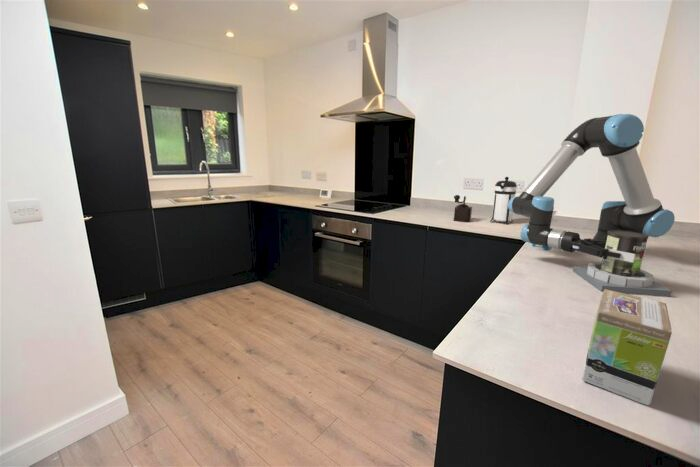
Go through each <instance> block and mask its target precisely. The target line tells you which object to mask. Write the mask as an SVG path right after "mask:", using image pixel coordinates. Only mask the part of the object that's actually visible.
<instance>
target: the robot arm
mask: <svg viewBox="0 0 700 467" xmlns="http://www.w3.org/2000/svg"><path fill="white" fill-rule="evenodd" d="M644 130H645V128H644V124H643V122H642V119H640V118H639V117H638V116H637V115H634V114H631V113H619V114H614V115H608V116H601V117H592V118H590V119H588V120H586V121H584V122H582V123H581V124H579V125H578V126H577V127H576V128H575V129H573V131H571V132H570V133H569V134H568V135H567V136H566V137H565V138H564V140H563V141H562V142H561V144H560V145H561V147H560V148H559V149H558V150H557V151H556V153H555V154H554V155H553V156H552V157H551V159H550V160H549V161H548V162H547V163H546V164H545V165H544V167H542V169H541V170H540V172H538V174H537V175H536V176H535V177H534V178H533V180H532V181H531V182H530V183H529V184H528V185H527V186H526V187H525V189H523V191H522V192H521V193H520V194H519V195H518V196H515V197H513V198H511V199H510V201H509V203H508V208H509V210H510V211H511V212H513V214H516V215H519V216H523V217H527V218H529V221H528V224H524V225H523V226H522V227H521V231H520V238H521V240H522V242H526V243H528V244H531V245H532V244H536V245H535V246H539V245H540V247H542V246H546V247H550V248H552V250H554V251H555V250H559V251H560V250H562V251H564V252H569V253H575V252H576V251H577V252H580V253H584V254H587V255H591V256H595V257H598V258H602V259H607V256H608V257H609V258H614V259H618V260H623V261H628V262H632V263H633V262H634V259H635V254H633V253H628V252H622V251H617V250H612V249H610V250H608V249H605V245H606V240H607V235H608V231H610V230H620V231H630V232H636V233H641V234H645V235H647V236H648V237H651V238H659V237H661V236H665V234H667V233H668V232H669V231H670V230H671V229H672V228H673V226H674V223H675V220H676V219H675V214H674V212H673V211H671V210H669V209H665V208H663V205H662V202H661V200H660V199H658V198H654V195H653V193H652V189H651V186H650V183H649V181H648V178H647V174H646V173H645V170H644V168H643V165H642V161H641V159H640V155H639V153H638V149H637V148H638V147H639V145H640V143H641V142H640V141H641V139H642V138H643V135H644V134H643V133H644ZM593 148H598V149H599V151H600V154H601V156H602V157H603V158H608V159H607V160H608V161H609V163H610V166H611V169H612V171H613V174H614V176H615V179H616V182H617V184H618V187H619V190H620V192H621V194H622V197H623V199H624V200H619V201H618V200H612V201H611V200H610V201H609V200H608V201H604V202H603V204H602V207H601V210H600V214H599V221H598V227H597V231H596V233H595V235H594V236H593V238H589V237H588V238H584V239H582V238H581V237H580V233H579V232H573V231H567V230H564V229H557V228H551V225H552V224H551V223H552V219H553V213H554V210H555V207H554V205H555V199H554V198H553V197H551V196H545V194H547V192H548V191H549V190H550V189H551V188H552V187H553V186H554V184H555V183H556V182H558V180H559V179H560V178H561V177H562V175H563V174H564V173H565V172H567V171H566V170H568V169H569V167H570V166H571V165H572V164H573V163H574V161H576V160H577V159H578V157H580V156H583V155H584V154H585V153H586V152H587V151H588V150H591V149H593ZM646 252H647V249H646V248H645V251H644V255H643V258H645V256H646Z"/></svg>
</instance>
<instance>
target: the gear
mask: <svg viewBox="0 0 700 467" xmlns="http://www.w3.org/2000/svg"><path fill="white" fill-rule="evenodd" d="M531 246H532V247H535V246H537V245H536V244H531ZM538 246H540V247H541V248H542V249H545V250H549V249H550V248H551V247H546V246H541V245H538Z"/></svg>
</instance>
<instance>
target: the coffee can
mask: <svg viewBox="0 0 700 467" xmlns="http://www.w3.org/2000/svg"><path fill="white" fill-rule="evenodd" d="M648 239H649V236H647V235H645V234H641V233H636V232H630V231H620V230H610V231H608V235H607V240H606V245H605V249H608V250H610V249H612V250H617V251H622V252H628V253H633V254H635V259H634V262H633V263H632V262H628V261H623V260H618V259H614V258H609V257H608V256H607V259H603V258H602V261H601V262H602V264H601V269H600V271H603V272H606V273H609V274H613V275H618V276H624V277H634V278H638V277H639V272H640V269H641V267H642V264H643V263H642V262H643V259H644V257H643V255H644V251H645V249H646V246H647V242H648Z"/></svg>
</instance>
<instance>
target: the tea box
mask: <svg viewBox="0 0 700 467" xmlns="http://www.w3.org/2000/svg"><path fill="white" fill-rule="evenodd" d="M672 332H673V331H672V324H671V320H670V316H669V311H668V306H667V303H666V302H663V301H659V300H655V299H651V298H646V297H643V296H642V297H641V296H637V295H634V294H627V293H620V292H616V291H611V290H607V289H605V290H604V292H602V296H601V297H600V302H599V304H598V308H597V312H596V316H595V319H594V323H593V327H592V332H591V336H590V340H589V345H588V349H587V354H586V357H585V358H586V359H585V362H584V369H583V375H582V379H581V380H582V381H584V382H585V383H589V384H591V385H594V386H596V387H597V388H598V387H599V388H601V389H603V390H605V391H607V392H608V391H609V392H610V393H614V394H615V395H618V396H622V397H623V398H627V399H630V400H631V401H635V402H637V403H638V404H639V403H640V404H642V405H645V406H649V405H650V404H651V403H652V400H653V396H654V393H655V389H656V385H657V383H658V380H659V376H660V373H661V369H662V367H663V363H664V361H665V357H666V354H667V350H668V348H669V347H668V346H669V344H670V341H671V337H672Z"/></svg>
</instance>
